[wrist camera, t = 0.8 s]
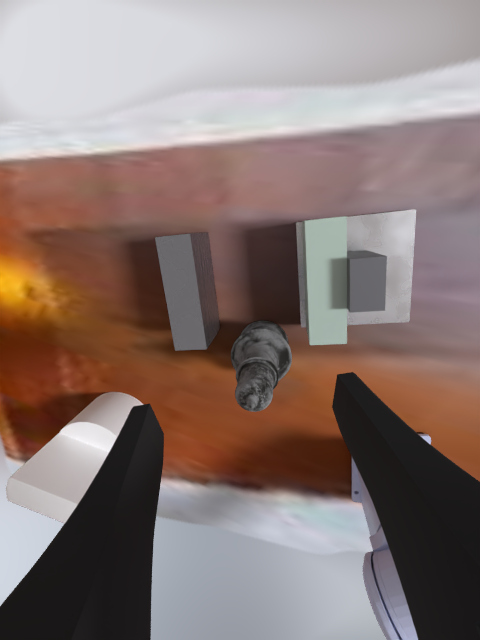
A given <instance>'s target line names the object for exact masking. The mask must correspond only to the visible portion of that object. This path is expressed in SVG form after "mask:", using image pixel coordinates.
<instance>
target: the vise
mask: <svg viewBox="0 0 480 640" xmlns="http://www.w3.org/2000/svg"><path fill="white" fill-rule="evenodd" d="M415 220H416V209H414V210H405V211H396V212H387V213H378V214H369V215H360V216H351V217H347V252H353V251H364V250H367V251H371V252H374V253H378V254H381V255H385V256H387V271H386V299H385V311H370V312H353V313H350V312H349V311H348V309H347V325H357V324H377V323H397V322H409V321H410V304H411V287H412V270H413V254H414V237H415ZM296 238H297V259H298V280H299V300H300V321H301V327H306V307H305V283H304V260H303V236H302V222H297V223H296ZM155 241H156V246H157V252H158V257H159V263H160V269H161V274H162V280H163V285H164V291H165V297H166V302H167V308H168V314H169V319H170V325H171V330H172V336H173V342H174V347H175V351H178V350H202V349H207V348H208V347H209V345H210V344H211V342H212V341H213V339H214V338H215V336H216V334H217V333H218V331H219V330H220V321H219V314H218V306H217V298H216V290H215V283H214V275H213V267H212V259H211V251H210V244H209V236H208V232H206V233H191V234H181V235H172V236H163V237H155Z"/></svg>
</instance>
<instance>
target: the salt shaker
mask: <svg viewBox="0 0 480 640" xmlns="http://www.w3.org/2000/svg"><path fill="white" fill-rule="evenodd" d="M231 361H232V365H233V367H234V369H235V370H236V379H237V387H236V390H235V397H236V400H237V402H238V404H239V405H240V406H241V407H242V408H244V409H245V410H248V411H254V412H256V411H261V410H263V409H265V408H266V407H267V406H268V405H269V404H270V402H271V400H272V397H273V389H274V388H275V387H276V386H277V383H278V381H279V380H280V379H281V378H283V377H284V376H285V375H286V373H287V372H288V371H289V368H290V366H291V362H292V354H291V350H290V347H289V345H288V338H287V335H286V334H285V332H284V330H283V329H282V328H281V327H280V326H278V325H277V324H275V323H273V322H270V321H262V320H261V321H256V322H253V323H251V324H249V325H248V326H247V327H246V328H244V330H243V331H242V333H241V335H240V336H239V337H238V338H237V339H236V341H235V342H234V344H233V347H232V350H231Z"/></svg>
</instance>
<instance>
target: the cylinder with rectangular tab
mask: <svg viewBox="0 0 480 640" xmlns="http://www.w3.org/2000/svg"><path fill="white" fill-rule="evenodd" d="M138 405H144V404H142V403H141V402H140V401H139V400H138V399H136V398H134V397H132V396H130V395H128V394H124V393H121V392H109V393H105V394H102V395H100V396H99V397H97V398H96V399H95V400H94V401H92V402H91V403H90V404H89V405H88V406H87V407H86V408H85V409H84V410H82V411H81V412H80V413H79V414H78V415H77V416H76V417H75V418H73V419H72V420H71V421H70V422H69V423H68V424H67V425H66V426H65V427H63V428H62V430H61V431H60V432H59V433H58V434H57V435H56V436H55V437H54V438H53V439H52V440H51V441H49V442H48V443H47V444H46V445H45V446H44V447H43V448H42V449H41V450H39V451H38V452H37V453H36V454H35V455H34V456H33V457H32V458H31V459H30V460H28V461H27V462H26V463H25V464H24V465H23V466H22V467H21V468H20V469H18V470H17V471H16V472H15V473H14V474H13V475H12V476H11V477H10V478H9V479H8V482H7V487H6V493H7V499H8V501H10V502H12V503H15V504H17V505H20V506H22V507H25V508H28V509H30V510H33V511H35V512H37V513H40V514H42V515H45V516H47V517H50V518H52V519H55V520H57V521H60V522H62V523H66V521H67V520H68V518H69V517H70V515H71V514H72V512H73V511H74V509H75V508H76V506H77V505H78V503H79V502H80V500H81V499H82V497H83V496H84V494H85V492H86V491H87V489H88V488H89V486H90V484H91V483H92V481H93V479H94V478H95V476H96V474H97V473H98V471H99V469H100V468H101V466H102V464H103V462H104V461H105V459H106V457H107V455H108V453H109V452H110V450H111V448H112V446H113V444H114V442H115V441H116V439H117V437H118V435H119V433H120V431H121V429H122V427H123V425H124V423H125V421H126V419H127V417H128V415H129V413H130V411H131V409H132V408H133V406H138Z"/></svg>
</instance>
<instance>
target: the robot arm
mask: <svg viewBox="0 0 480 640" xmlns="http://www.w3.org/2000/svg"><path fill="white" fill-rule="evenodd" d="M332 408H333V411H334V414H335V417H336V420H337V423H338V426H339V429H340V432H341V434H342V436H343V439H344V441H345V443H346V445H347V447H348V449H349V452H350V454H351V456H352V500H353V501H354V502H360V503H362V506H363V510H364V513H365V517H366V521H367V524H368V528H369V532H370V535H371V536H370V541H371V545H372V548H373V552H368V553H366V554H365V557H364V564H363V577H364V583H365V587H366V591H367V594H368V597H369V600H370V603H371V606H372V609H373V611H374V614H375V616H376V619H377V621H378V623H379V625H380V627H381V629H382V631H383V633H384V635H385V637H386V639H387V640H480V482H479V481H478V480H476V479H475V478H474V477H472V476H471V475H470V474H468V473H467V472H465V471H464V470H463V469H461V468H460V467H458V466H457V465H456V464H455V463H453V462H452V461H451V460H449V459H448V458H447V457H445V456H444V455H443V454H441V453H440V452H439V451H438V450H436V449H435V448H434V447H433V446H432V445H431V438H430V436H429V435H427V434H417V433H416V432H415V431H414V430H413V429H411V428H410V427H409V426H408V425H407V424H406V423H405V422H404V421H403V420H401V419H400V418H399V417H398V416H397V415H396V414H395V413H394V412H393V411H392V410H391V409H390V408H389V407H388V406H387V405H385V404H384V403H383V402H382V401H381V400H380V399H379V398H378V397H377V396H376V395H375V394H374V393H373V392H372V391H371V390H370V389H369V388H368V387H367V386H366V385H365V384H364V382H363V381H362V380H361V379H360V378H359V377H358V376H357V375H356V374H355V373H353V372H351V373H345V374H338V375H337V380H336V386H335V393H334V399H333V406H332ZM163 450H164V433H163V431H162V429H161V427H160V425H159V423H158V420H157V418H156V416H155V414H154V412H153V410H152V407H151V405H150V404H145V405H138V406H133V408H132V409H131V411H130V413H129V415H128V417H127V419H126V421H125V423H124V425H123V427H122V429H121V431H120V433H119V435H118V437H117V439H116V441H115V442H114V444H113V446H112V448H111V450H110V452H109V453H108V455H107V457H106V459H105V461H104V462H103V464H102V466H101V468H100V469H99V471H98V473H97V474H96V476H95V478H94V479H93V481H92V483H91V484H90V486H89V488H88V489H87V491H86V492H85V494H84V496H83V497H82V499H81V500H80V502H79V503H78V505H77V506H76V508H75V509H74V511H73V512H72V514H71V515H70V517H69V518H68V520H67V521H66V523H65V524H64V526H63V527H62V528H61V530H60V531H59V532H58V534H57V535H56V537H55V538H54V539H53V541H52V542H51V543H50V545H49V546H48V547H47V549H46V550H45V552H44V553H43V554H42V555H41V557H40V558H39V559H38V561H37V562H36V563H35V565H34V566H33V567H32V568H31V570H30V571H29V572H28V573H27V575H26V576H25V577H24V578H23V579H22V581H21V582H20V583H19V584H18V585H17V587H16V588H15V589H14V590H13V592H12V593H11V594H10V595H9V596H8V598H7V599H6V600H5V601H4V602H3V604H2V605H1V606H0V640H150V635H151V634H150V632H151V631H150V630H151V629H150V628H151V584H152V557H153V539H154V528H155V520H156V512H157V505H158V497H159V490H160V482H161V475H162V467H163ZM355 491H357V492H355Z"/></svg>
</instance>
